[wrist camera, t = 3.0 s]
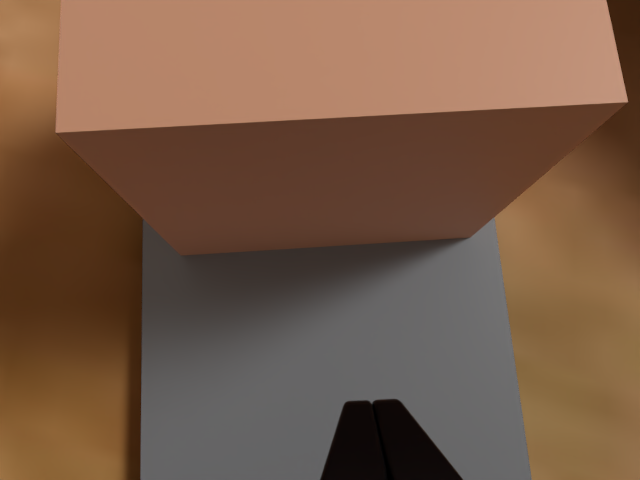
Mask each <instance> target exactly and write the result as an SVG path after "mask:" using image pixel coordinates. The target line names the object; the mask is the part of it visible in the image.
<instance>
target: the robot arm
mask: <svg viewBox="0 0 640 480" xmlns="http://www.w3.org/2000/svg"><path fill="white" fill-rule="evenodd" d="M320 480H463V478H462V477H461V476H460V475H459V473H458V472H457V471H456V470H455V468H454V467H453V466H452V465H451V463H450V462H449V461H448V460H447V458H446V457H445V456H444V455H443V453H442V452H441V451H440V450H439V448H438V447H437V446H436V445H435V443H434V442H433V441H432V440H431V438H430V437H429V436H428V435H427V433H426V432H425V431H424V430H423V428H422V427H421V426H420V425H419V423H418V422H417V421H416V420H415V418H414V417H413V416H412V415H411V413H410V412H409V411H408V409H407V408H406V407H405V406H404V404H403V403H402V402H401V401H400V400H398V399H378V400H374V401H373V402H372V403H371V402H370V401H369V400H357V401H347V402H345V403H344V405H343V408H342V411H341V414H340V417H339V421H338V424H337V427H336V430H335V433H334V437H333V440H332V443H331V446H330V449H329V453H328V456H327V459H326V462H325V465H324V469H323V472H322V475H321V478H320Z"/></svg>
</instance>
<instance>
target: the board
mask: <svg viewBox="0 0 640 480" xmlns="http://www.w3.org/2000/svg"><path fill="white" fill-rule="evenodd" d="M378 399H398V400H400V401H401V402H402V403H403V404H404V406H405V407H406V408H407V409H408V411H409V412H410V413H411V415H412V416H413V417H414V418H415V420H416V421H417V422H418V423H419V425H420V426H421V427H422V428H423V430H424V431H425V432H426V433H427V435H428V436H429V437H430V438H431V440H432V441H433V442H434V443H435V445H436V446H437V447H438V448H439V450H440V451H441V452H442V453H443V455H444V456H445V457H446V458H447V460H448V461H449V462H450V463H451V465H452V466H453V467H454V468H455V470H456V471H457V472H458V473H459V475H460V476H461V477H462V478H463V480H532V479H531V472H530V465H529V458H528V451H527V444H526V437H525V430H524V423H523V416H522V409H521V402H520V395H519V388H518V381H517V374H516V367H515V360H514V353H513V346H512V339H511V332H510V325H509V318H508V311H507V304H506V297H505V290H504V283H503V276H502V269H501V262H500V255H499V248H498V241H497V233H496V226H495V219H494V218H493V219H492V220H490V221H489V222H488V223H487V224H486V225H485V226H483V227H482V228H481V229H480V230H479V231H478V232H476V233H475V234H474V235H473V236H472V237H471V238H455V239H439V240H423V241H407V242H391V243H375V244H359V245H343V246H327V247H311V248H295V249H279V250H263V251H247V252H230V253H214V254H198V255H182V256H181V255H180V254H179V253H178V252H177V251H176V250H175V249H174V248H173V247H172V246H171V245H170V244H168V243H167V242H166V241H165V240H164V239H163V238H162V237H161V236H160V235H159V234H158V233H157V232H156V231H155V230H154V229H153V228H152V227H151V226H150V225H149V224H148V223H147V222H146V221H145V220H144V219H143V259H142V367H141V476H140V480H320V478H321V475H322V472H323V469H324V465H325V462H326V459H327V456H328V453H329V449H330V446H331V443H332V440H333V437H334V433H335V430H336V427H337V424H338V421H339V417H340V414H341V411H342V408H343V405H344V403H345V402H347V401H357V400H369V401H370V402H371V403H372V402H373V401H374V400H378Z"/></svg>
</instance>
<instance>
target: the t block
mask: <svg viewBox="0 0 640 480" xmlns="http://www.w3.org/2000/svg"><path fill="white" fill-rule="evenodd" d="M627 103H628V99H627V94H626V90H625V85H624V80H623V76H622V71H621V66H620V62H619V57H618V52H617V48H616V43H615V38H614V34H613V29H612V24H611V20H610V15H609V10H608V6H607V1H606V0H61V14H60V38H59V61H58V85H57V108H56V132H55V133H56V134H57V135H58V136H59V137H60V138H61V139H62V140H63V141H64V142H65V143H66V144H67V145H68V146H69V147H70V148H72V149H73V150H74V151H75V152H76V153H77V154H78V155H79V156H80V157H81V158H82V159H83V160H84V161H85V162H86V163H87V164H88V165H89V166H90V167H91V168H92V169H93V170H94V171H95V172H96V173H97V174H98V175H99V176H100V177H101V178H102V179H103V180H104V181H105V182H106V183H107V184H108V185H109V186H110V187H111V188H112V189H113V190H114V191H115V192H116V193H117V194H118V195H119V196H121V197H122V198H123V199H124V200H125V201H126V202H127V203H128V204H129V205H130V206H131V207H132V208H133V209H134V210H135V211H136V212H137V213H138V214H139V215H140V216H141V217H142V218H143V219H144V220H145V221H146V222H147V223H148V224H149V225H150V226H151V227H152V228H153V229H154V230H155V231H156V232H157V233H158V234H159V235H160V236H161V237H162V238H163V239H164V240H165V241H166V242H167V243H168V244H170V245H171V246H172V247H173V248H174V249H175V250H176V251H177V252H178V253H179V254H180V255H181V256H182V255H198V254H214V253H230V252H247V251H263V250H279V249H295V248H311V247H327V246H343V245H359V244H375V243H391V242H407V241H423V240H439V239H455V238H471V237H472V236H473V235H474V234H475V233H476V232H478V231H479V230H480V229H481V228H482V227H483V226H485V225H486V224H487V223H488V222H489V221H490V220H492V219H493V218H494V217H495V216H496V215H497V214H499V213H500V212H501V211H502V210H503V209H504V208H505V207H507V206H508V205H509V204H510V203H511V202H512V201H514V200H515V199H516V198H517V197H518V196H519V195H521V194H522V193H523V192H524V191H525V190H526V189H528V188H529V187H530V186H531V185H532V184H533V183H535V182H536V181H537V180H538V179H539V178H540V177H542V176H543V175H544V174H545V173H546V172H547V171H549V170H550V169H551V168H552V167H553V166H554V165H556V164H557V163H558V162H559V161H560V160H561V159H563V158H564V157H565V156H566V155H567V154H568V153H570V152H571V151H572V150H573V149H574V148H575V147H576V146H578V145H579V144H580V143H581V142H582V141H583V140H585V139H586V138H587V137H588V136H589V135H590V134H592V133H593V132H594V131H595V130H596V129H597V128H599V127H600V126H601V125H602V124H603V123H604V122H606V121H607V120H608V119H609V118H610V117H611V116H613V115H614V114H615V113H616V112H617V111H618V110H620V109H621V108H622V107H623V106H624V105H625V104H627Z"/></svg>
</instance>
